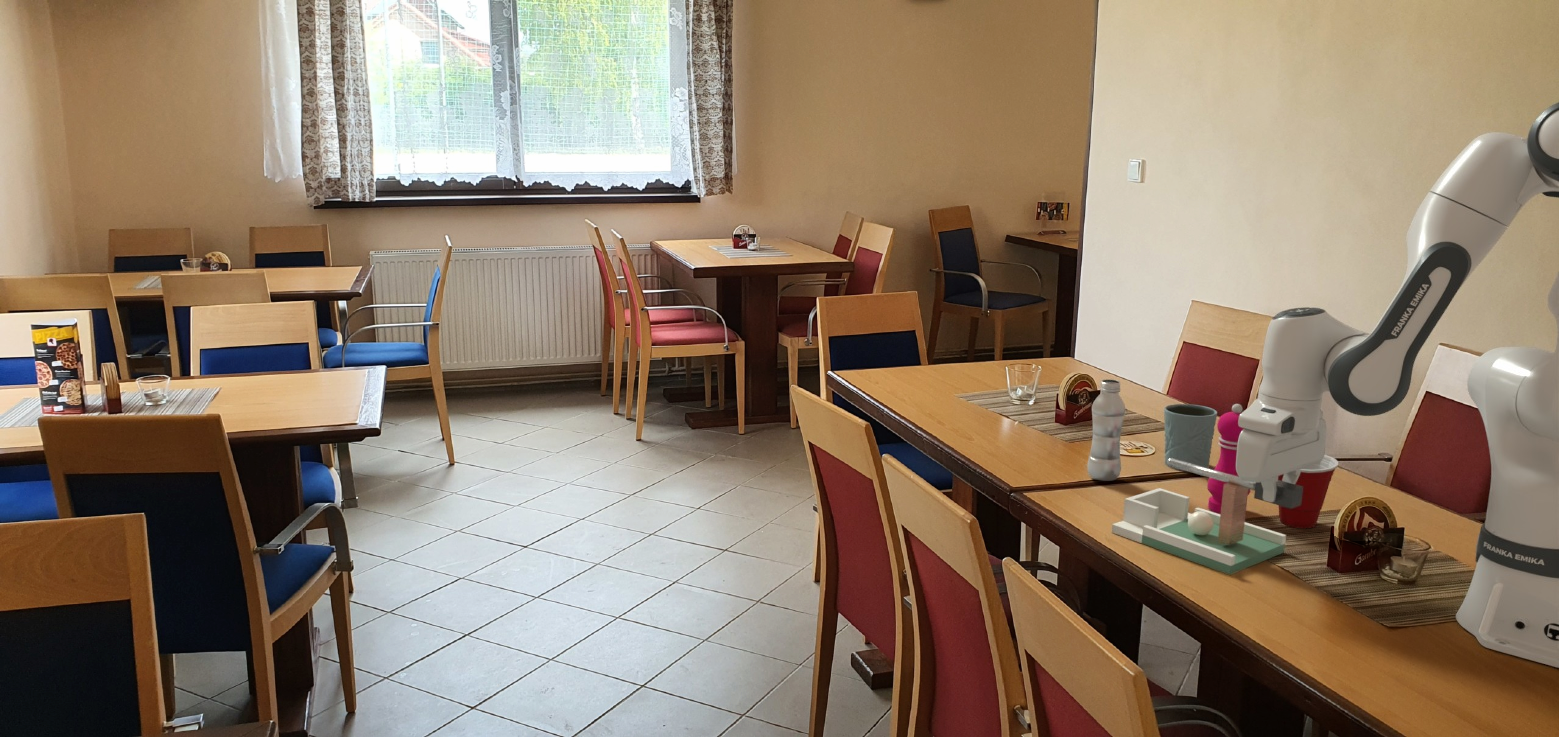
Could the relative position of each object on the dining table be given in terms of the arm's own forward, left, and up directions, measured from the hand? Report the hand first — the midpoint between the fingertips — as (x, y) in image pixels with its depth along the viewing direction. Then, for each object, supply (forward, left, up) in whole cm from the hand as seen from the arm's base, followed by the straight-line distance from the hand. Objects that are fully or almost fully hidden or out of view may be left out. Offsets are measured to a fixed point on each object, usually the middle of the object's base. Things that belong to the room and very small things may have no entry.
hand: (1277, 497), depth 167 cm
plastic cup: (+8, -23, -12) cm, 27 cm away
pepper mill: (+19, -19, -12) cm, 29 cm away
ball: (+13, 0, -8) cm, 15 cm away
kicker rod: (+8, 0, -9) cm, 13 cm away
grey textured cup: (+39, -37, -12) cm, 55 cm away
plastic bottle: (+43, -15, -12) cm, 47 cm away
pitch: (+13, 0, -12) cm, 17 cm away
